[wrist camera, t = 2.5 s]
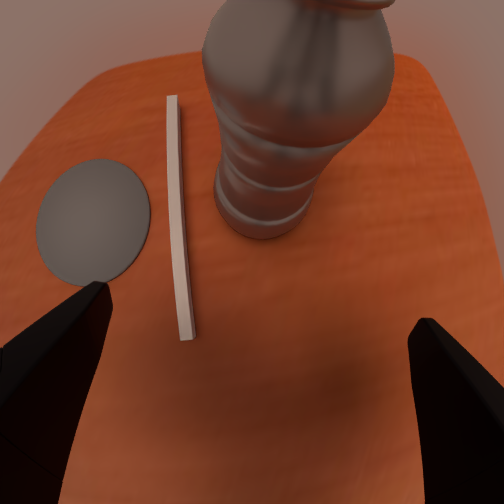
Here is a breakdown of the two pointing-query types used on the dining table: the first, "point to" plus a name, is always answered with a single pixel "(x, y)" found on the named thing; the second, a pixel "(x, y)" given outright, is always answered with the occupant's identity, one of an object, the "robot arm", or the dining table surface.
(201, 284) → the dining table surface
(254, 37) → the plastic bottle
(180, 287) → the frosted wall
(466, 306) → the dining table surface
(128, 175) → the slate mat
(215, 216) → the dining table surface
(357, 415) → the dining table surface
